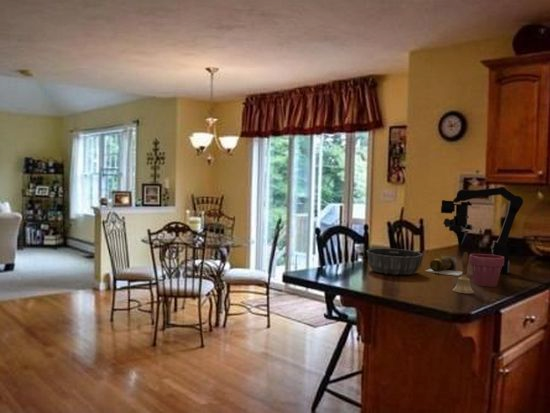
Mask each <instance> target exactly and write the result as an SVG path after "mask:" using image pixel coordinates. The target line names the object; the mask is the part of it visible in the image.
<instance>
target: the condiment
mask: <svg viewBox="0 0 550 413" xmlns="http://www.w3.org/2000/svg"><path fill="white" fill-rule="evenodd" d="M429 267H430V269H432V270H434V271H441V270H452V271H457V257H454V256H449V255H442V254H441V255H440V258H436V259H435V258H434V259H433V260H431V261H430V263H429Z"/></svg>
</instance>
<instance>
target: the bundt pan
mask: <svg viewBox="0 0 550 413" xmlns="http://www.w3.org/2000/svg"><path fill="white" fill-rule="evenodd" d="M366 253H367V260H368V261H367V262H368V265H369V267H370V268H371V270H372V271H374V273H379V274H385V275H392V276H397V275H398V276H407V275H414V274H416V272H417V271H418V270H419V267H420V265H421V260H422V257H423V253H421V252H420V251H415V250H411V249H410V250H409V249H399V248H385V247H383V248H380V247H378V248H369V249H367V250H366Z"/></svg>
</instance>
